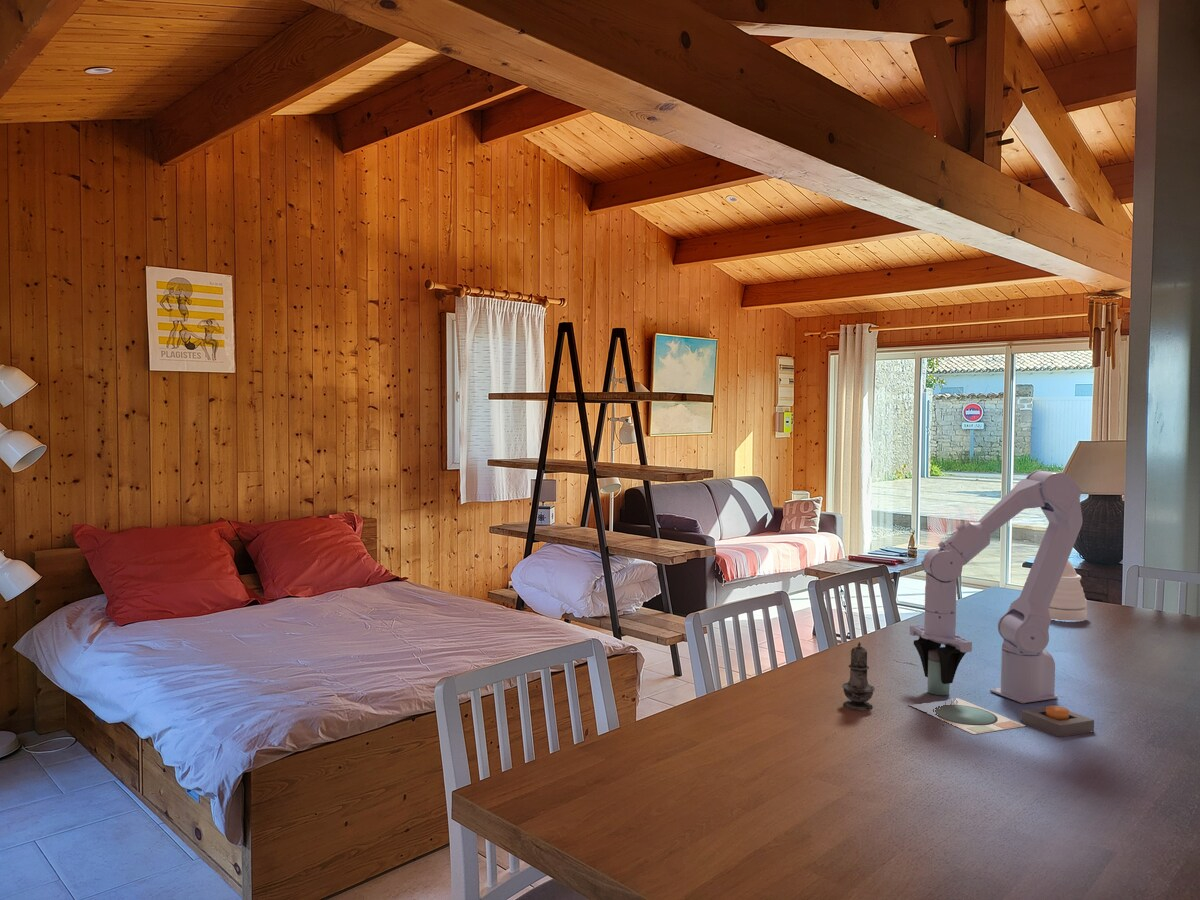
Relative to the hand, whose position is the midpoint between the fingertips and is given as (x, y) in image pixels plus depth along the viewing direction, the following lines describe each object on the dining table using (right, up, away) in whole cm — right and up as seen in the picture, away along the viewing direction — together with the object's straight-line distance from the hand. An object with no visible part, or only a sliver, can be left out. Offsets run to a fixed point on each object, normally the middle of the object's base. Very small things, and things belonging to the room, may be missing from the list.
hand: (938, 679), depth 171 cm
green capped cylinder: (0, -2, 0) cm, 2 cm away
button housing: (+14, -3, -18) cm, 23 cm away
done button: (+14, -2, -18) cm, 23 cm away
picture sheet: (0, -3, -13) cm, 13 cm away
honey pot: (+60, -1, +68) cm, 91 cm away
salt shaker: (-18, -3, -8) cm, 20 cm away
